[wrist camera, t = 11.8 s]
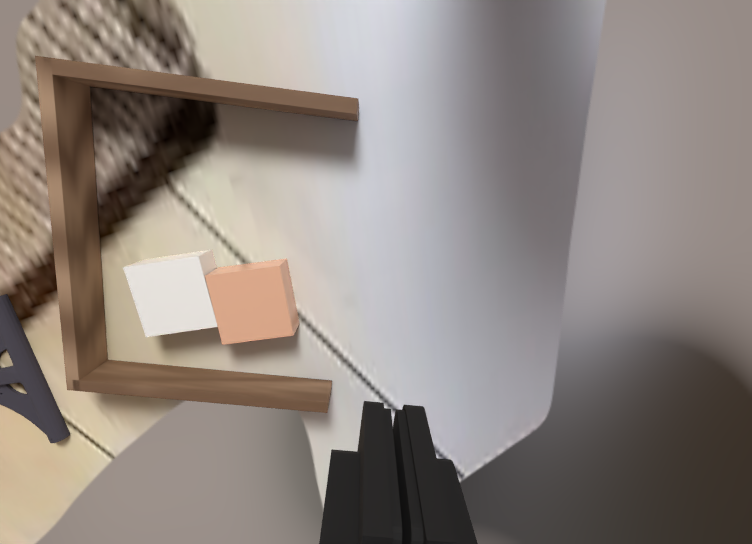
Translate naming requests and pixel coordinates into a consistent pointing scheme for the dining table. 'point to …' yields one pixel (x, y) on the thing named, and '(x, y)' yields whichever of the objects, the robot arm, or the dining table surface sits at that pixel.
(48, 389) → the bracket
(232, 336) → the terracotta tile
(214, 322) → the white square tile
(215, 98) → the frame
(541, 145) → the dining table surface
